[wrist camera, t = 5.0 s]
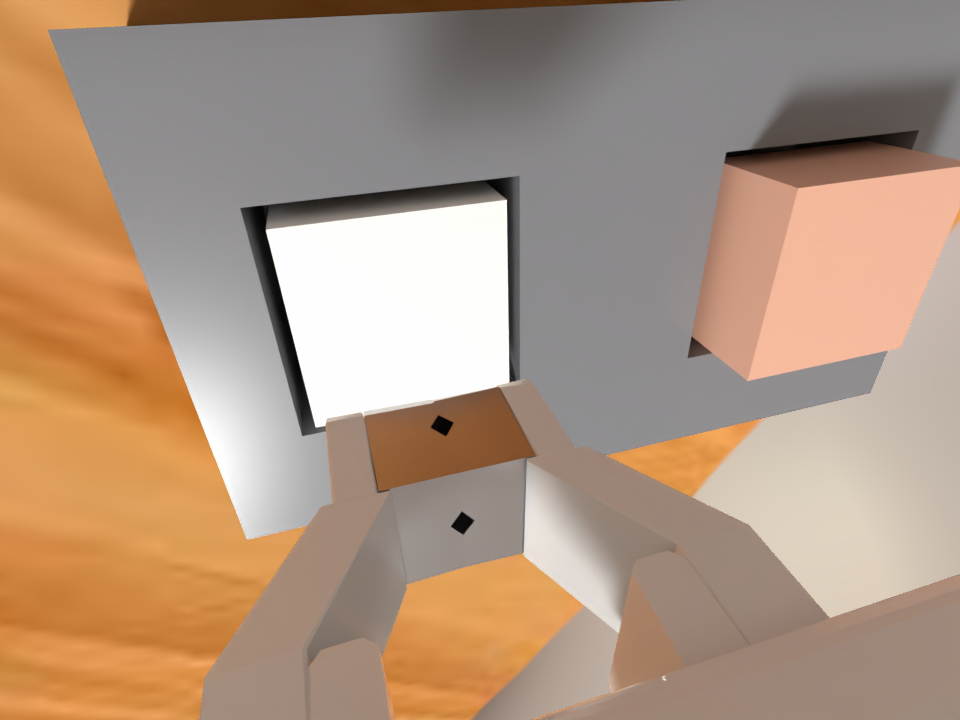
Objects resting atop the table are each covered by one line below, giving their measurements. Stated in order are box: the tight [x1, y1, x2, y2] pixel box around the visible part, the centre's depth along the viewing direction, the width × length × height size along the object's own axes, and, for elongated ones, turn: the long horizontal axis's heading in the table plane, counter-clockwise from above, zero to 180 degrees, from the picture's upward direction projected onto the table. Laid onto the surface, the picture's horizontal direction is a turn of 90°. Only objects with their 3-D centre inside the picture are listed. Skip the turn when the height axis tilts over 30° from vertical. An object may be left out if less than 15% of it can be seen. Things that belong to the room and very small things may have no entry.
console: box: [48, 0, 960, 540], centre depth 16 cm, size 12×21×5 cm, turn 92°
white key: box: [266, 180, 509, 427], centre depth 14 cm, size 5×5×3 cm
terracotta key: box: [692, 141, 960, 381], centre depth 15 cm, size 5×5×3 cm
